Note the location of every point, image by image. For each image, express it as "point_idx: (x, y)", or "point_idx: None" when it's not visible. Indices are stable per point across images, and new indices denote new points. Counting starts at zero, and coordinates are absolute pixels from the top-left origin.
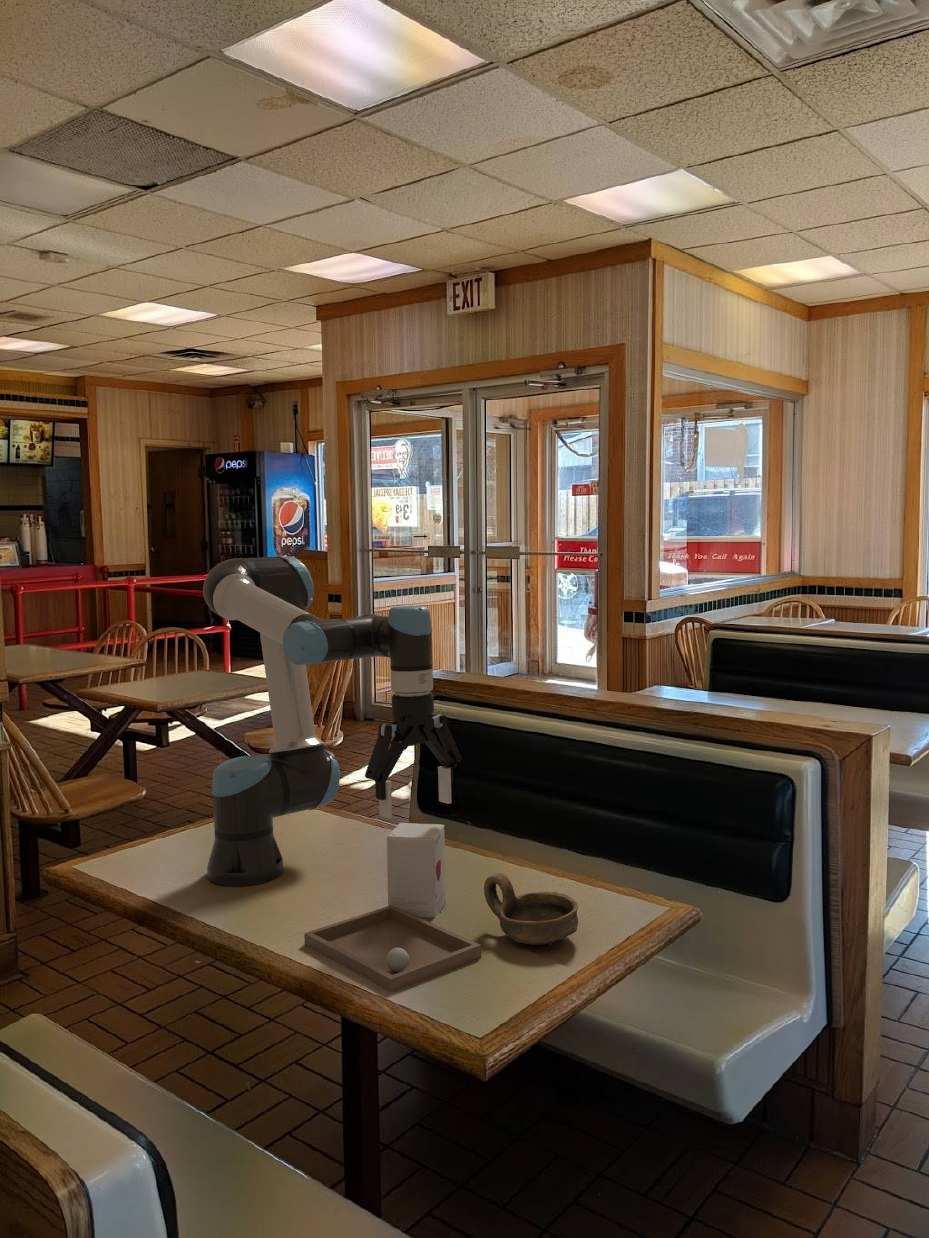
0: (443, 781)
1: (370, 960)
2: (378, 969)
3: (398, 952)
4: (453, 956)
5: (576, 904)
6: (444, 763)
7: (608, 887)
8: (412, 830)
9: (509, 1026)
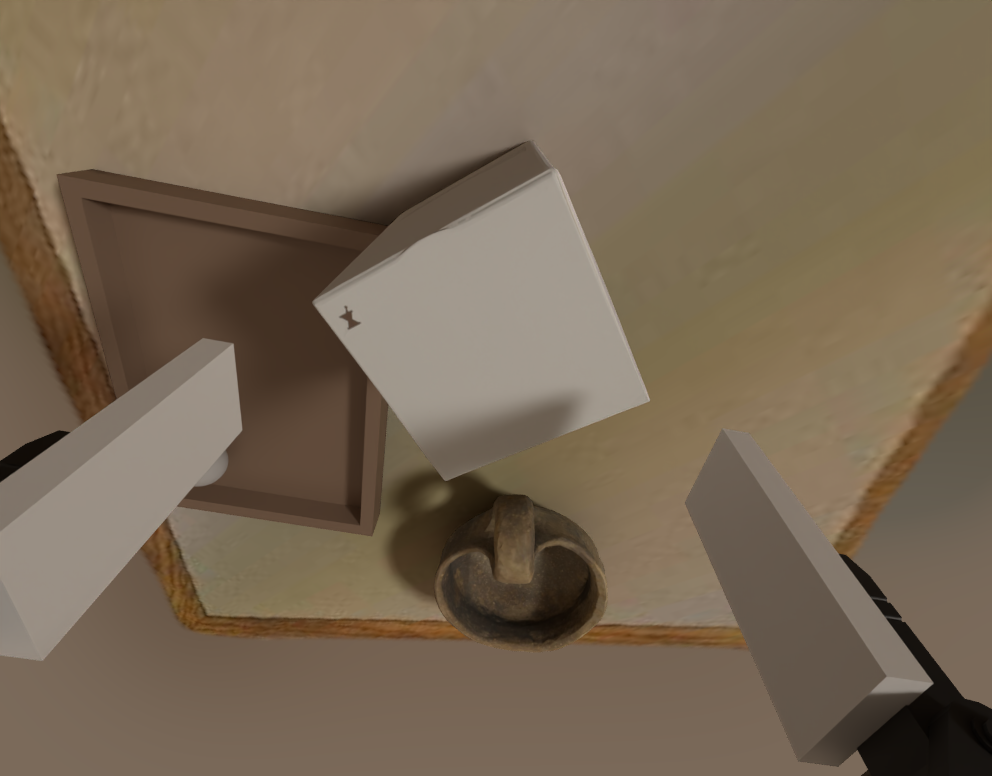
0: (765, 591)
1: None
2: None
3: None
4: (299, 523)
5: (561, 646)
6: (919, 766)
7: (864, 521)
8: (467, 350)
9: (257, 625)
